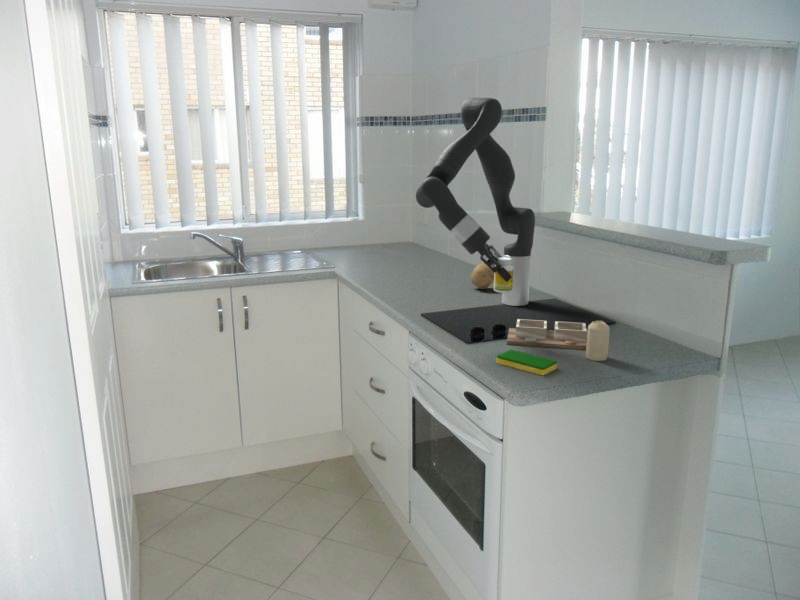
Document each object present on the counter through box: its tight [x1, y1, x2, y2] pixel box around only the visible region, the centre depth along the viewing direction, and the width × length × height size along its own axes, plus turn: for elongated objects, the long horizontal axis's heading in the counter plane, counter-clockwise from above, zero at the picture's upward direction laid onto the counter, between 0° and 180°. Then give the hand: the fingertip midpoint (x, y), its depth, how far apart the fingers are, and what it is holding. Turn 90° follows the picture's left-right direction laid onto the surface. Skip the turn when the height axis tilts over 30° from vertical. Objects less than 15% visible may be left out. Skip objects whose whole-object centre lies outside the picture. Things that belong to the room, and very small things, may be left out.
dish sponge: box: [496, 349, 558, 376], centre depth 171 cm, size 7×14×2 cm, turn 49°
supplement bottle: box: [493, 256, 513, 294], centre depth 191 cm, size 5×5×10 cm
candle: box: [585, 320, 611, 362], centre depth 176 cm, size 6×6×10 cm
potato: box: [469, 263, 494, 290], centre depth 251 cm, size 9×9×10 cm
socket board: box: [506, 318, 588, 351], centre depth 191 cm, size 13×24×4 cm, turn 78°
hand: (510, 277), depth 191 cm, fingers closed on supplement bottle, 5 cm apart
